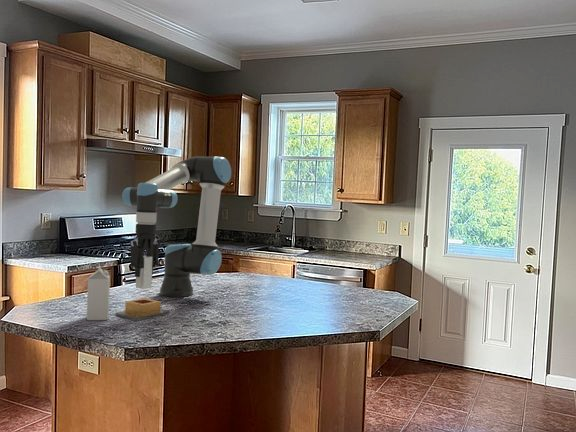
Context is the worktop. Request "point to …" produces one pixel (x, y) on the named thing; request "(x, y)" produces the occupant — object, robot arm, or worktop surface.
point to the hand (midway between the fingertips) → (143, 284)
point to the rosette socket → (142, 309)
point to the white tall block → (146, 272)
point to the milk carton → (98, 295)
